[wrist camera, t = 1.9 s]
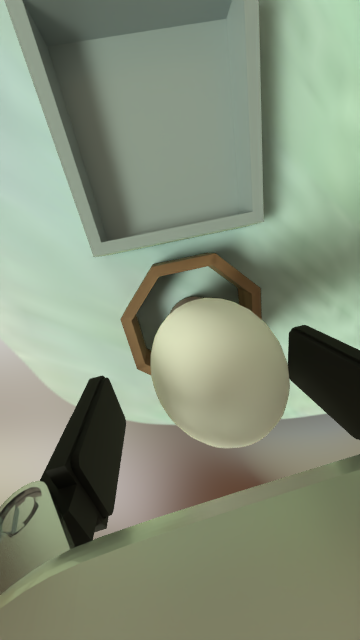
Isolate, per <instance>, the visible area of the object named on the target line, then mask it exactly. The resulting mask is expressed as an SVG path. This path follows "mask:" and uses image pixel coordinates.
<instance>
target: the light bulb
mask: <svg viewBox="0 0 360 640" xmlns="http://www.w3.org/2000/svg"><path fill="white" fill-rule="evenodd" d="M151 376H152V381H153V385H154V388H155V391H156V394H157V397H158V399H159V401H160V403H161V405H162V407H163V408H164V410H165V411H166V413H167V414H168V416H169V417H170V418H171V419H172V420H173V422H174V423H175V424H176V425H177V426H179V427H180V428H181V429H182V430H183V431H185V433H187V434H188V435H189V436H191V437H192V438H194V439H197V440H199V441H201V442H203V443H206V444H208V445H210V446H214V447H219V448H238V447H244V446H248V445H251V444H253V443H255V442H257V441H259V440H261V439H262V438H264V437H265V436H266V435H267V434H268V433H269V432H270V431H271V430H272V429H273V428H274V427H275V426H276V425H277V423H278V422H279V421H280V419H281V417H282V415H283V414H284V411H285V408H286V404H287V400H288V396H289V389H290V383H289V371H288V364H287V361H286V358H285V356H284V353H283V350H282V348H281V345H280V343H279V341H278V340H277V338H276V337H275V335H274V334H273V332H272V331H271V330H270V328H269V327H268V326H267V324H266V323H265V322H264V321H262V320H261V319H260V318H259V317H258V316H256V315H255V314H254V313H253V312H252V311H250V310H249V309H247V308H245V307H243V306H241V305H239V304H237V303H235V302H232V301H229V300H225V299H220V298H202V297H188V298H185V299H183V300H181V301H179V302H178V303H177V304H176V305H175V306H174V307H173V308H172V310H171V312H170V314H169V315H168V316H167V318H166V319H165V320H164V322H163V323H162V324H161V326H160V327H159V329H158V331H157V334H156V336H155V338H154V342H153V346H152V351H151Z"/></svg>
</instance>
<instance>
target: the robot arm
mask: <svg viewBox="0 0 360 640" xmlns="http://www.w3.org/2000/svg"><path fill="white" fill-rule="evenodd" d="M288 371H289V378H290V380H291V381H292V382H293V383H294V384H295V385H297V386H298V387H299V388H300V389H301V390H302V391H303V392H304V393H305V394H306V395H308V396H309V397H310V398H311V399H312V400H313V401H314V402H315V403H316V404H317V405H319V406H320V407H321V408H322V409H323V410H324V411H325V412H326V413H327V414H328V415H329V416H331V417H332V418H333V419H334V420H335V421H336V422H337V423H338V424H339V425H340V426H342V427H343V428H344V429H345V430H346V431H347V432H348V433H349V434H350V435H351V436H353V437H354V438H356V439H359V440H360V350H358V349H356V348H354V347H352V346H349V345H347V344H345V343H343V342H341V341H339V340H337V339H334V338H332V337H330V336H328V335H326V334H324V333H322V332H319V331H317V330H315V329H313V328H311V327H309V326H306V325H302V326H298V327H294V328H292V330H291V331H290V332H289V347H288ZM125 427H126V420H125V416H124V414H123V412H122V409H121V407H120V404H119V402H118V400H117V397H116V395H115V392H114V390H113V388H112V385H111V383H110V380H109V379H108V378H105V377H104V376H99V377H95V378H91V379H90V380H89V381H88V383H87V386H86V388H85V390H84V392H83V394H82V396H81V398H80V400H79V402H78V404H77V406H76V408H75V410H74V412H73V414H72V416H71V418H70V420H69V422H68V424H67V426H66V428H65V430H64V432H63V434H62V436H61V438H60V441H59V443H58V444H57V446H56V449H55V451H54V453H53V455H52V457H51V459H50V461H49V463H48V465H47V467H46V469H45V471H44V473H43V475H42V478H41V479H40V481H36V482H31V483H29V484H27V485H25V486H23V487H22V488H20V489H19V490H17V491H16V492H15V493H13V494H12V495H11V496H10V497H9V498H8V499H7V500H6V501H5V502H4V503H3V504H2V505H1V506H0V640H360V454H359V455H357V456H353V457H350V458H346V459H343V460H340V461H337V462H333V463H330V464H327V465H323V466H320V467H317V468H314V469H310V470H308V471H304V472H301V473H298V474H294V475H291V476H288V477H285V478H281V479H278V480H275V481H272V482H269V483H265V484H262V485H259V486H256V487H253V488H249V489H246V490H243V491H240V492H237V493H233V494H230V495H227V496H224V497H221V498H218V499H215V500H211V501H208V502H206V503H202V504H199V505H196V506H192V507H189V508H186V509H183V510H180V511H177V512H174V513H170V514H167V515H164V516H161V517H158V518H155V519H152V520H149V521H146V522H143V523H140V524H137V525H135V526H132V527H129V528H126V529H123V530H120V531H117V532H114V533H111V534H108V535H105V536H102V537H99V538H97V539H95V540H93V535H94V532H97V531H100V530H103V529H106V528H107V522H108V516H110V515H112V513H113V509H114V504H115V496H116V490H117V482H118V475H119V468H120V462H121V455H122V448H123V441H124V435H125Z"/></svg>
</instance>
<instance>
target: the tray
mask: <svg viewBox="0 0 360 640" xmlns="http://www.w3.org/2000/svg"><path fill="white" fill-rule="evenodd" d="M5 3H6V6H7V9H8V12H9V15H10V18H11V21H12V23H13V26H14V29H15V32H16V35H17V38H18V41H19V44H20V46H21V49H22V52H23V55H24V58H25V61H26V64H27V66H28V69H29V72H30V75H31V78H32V81H33V84H34V87H35V89H36V92H37V95H38V98H39V101H40V104H41V107H42V110H43V112H44V115H45V118H46V121H47V124H48V127H49V130H50V133H51V135H52V138H53V141H54V144H55V147H56V150H57V153H58V155H59V158H60V161H61V164H62V167H63V170H64V173H65V176H66V178H67V181H68V184H69V187H70V190H71V193H72V196H73V199H74V201H75V204H76V207H77V210H78V213H79V216H80V219H81V222H82V224H83V227H84V230H85V233H86V236H87V239H88V242H89V244H90V247H91V250H92V253H93V256H94V257H99V256H107V255H112V254H116V253H121V252H126V251H131V250H136V249H140V248H145V247H150V246H155V245H160V244H165V243H169V242H174V241H179V240H184V239H189V238H193V237H198V236H203V235H208V234H213V233H218V232H222V231H227V230H232V229H237V228H242V227H246V226H250V225H254V224H257V223H261V222H264V211H263V166H262V122H261V77H260V33H259V0H5Z"/></svg>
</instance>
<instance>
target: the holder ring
mask: <svg viewBox="0 0 360 640" xmlns="http://www.w3.org/2000/svg"><path fill="white" fill-rule="evenodd" d="M206 266H209V267H210V268H211V269H213V270H214V271H216V272H217V273H218V274H220V275H221V276H222V277H224V278H225V279H226V280H228V281H229V282H231V283H232V284H233V285H235V286H236V287H237V288H238V298H239V305H241V306H243V307H245V308H247V309H249V310H250V311H252V312H253V313H254V314H255V315H256V316H258V317H259V318H260V319H261V320H262V317H261V288H260V287H258V286H257V285H256V284H255V283H253V282H252V281H251V280H249V279H248V278H247V277H245V276H244V275H243V274H242V273H240V272H239V271H238V270H236V269H235V268H234V267H233V266H231V265H230V264H229V263H227V262H226V261H225V260H223V259H222V258H221V257H220V256H218V255H217V254H216V253H204V254H199V255H195V256H190V257H185V258H180V259H176V260H171V261H166V262H162V263H157V264H153V265H152V266H151V268H150V270H149V271H148V273H147V275H146V277H145V278H144V280H143V282H142V283H141V285H140V287H139V288H138V290H137V292H136V293H135V295H134V297H133V298H132V300H131V302H130V303H129V305H128V307H127V308H126V310H125V312H124V314H123V316H122V318H121V322H122V325H123V328H124V331H125V334H126V337H127V340H128V343H129V346H130V349H131V352H132V355H133V358H134V361H135V364H136V367H137V369H138V370H141V371H143V372H145V373H147V374H149V375H151V350H149V349H147V348H146V345H145V342H144V338H143V335H142V332H141V328H140V325H139V322H138V318H137V315H136V313H137V311H138V310H139V308H140V306H141V305H142V303H143V302H144V300H145V298H146V297H147V295H148V294H149V292H150V290H151V289H152V287H153V285H154V284H155V282H156V281H157V279H158V277H159V276H164V275H169V274H173V273H178V272H183V271H187V270H192V269H197V268H201V267H206Z"/></svg>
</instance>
